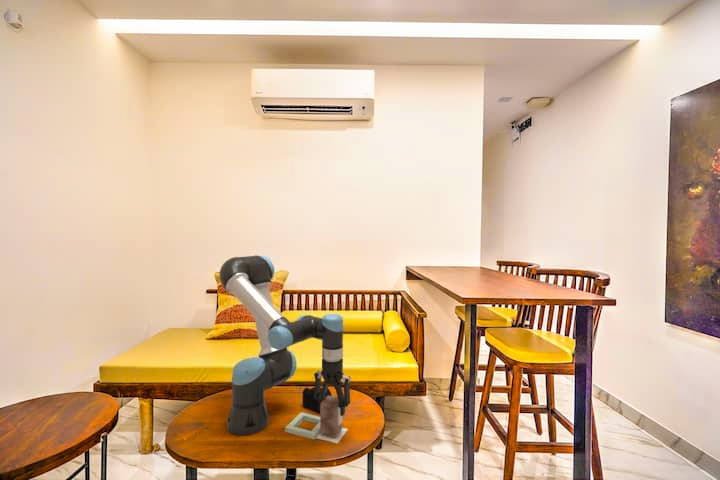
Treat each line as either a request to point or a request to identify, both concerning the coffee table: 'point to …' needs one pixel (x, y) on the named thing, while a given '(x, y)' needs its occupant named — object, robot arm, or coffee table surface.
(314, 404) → the film camera
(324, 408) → the walnut block
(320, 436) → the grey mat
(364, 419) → the coffee table surface
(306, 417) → the pocket board
